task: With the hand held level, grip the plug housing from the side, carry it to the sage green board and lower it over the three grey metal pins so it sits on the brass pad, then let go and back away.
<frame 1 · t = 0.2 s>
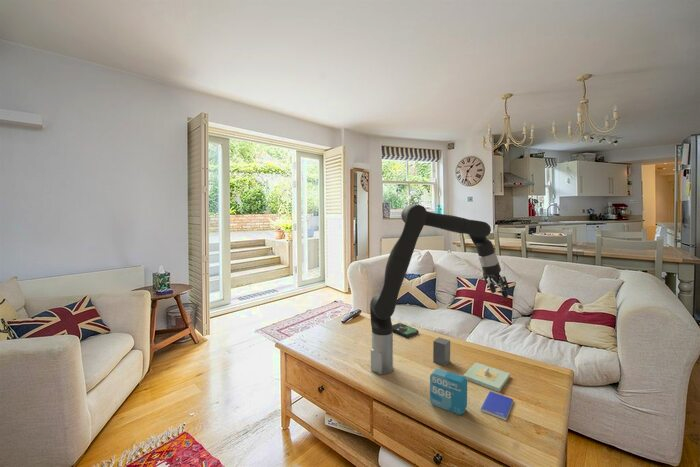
hand: (499, 294, 139), 31 cm above the table, tool tilted 20°, fingers open, 8 cm apart
disk drive: (403, 333, 173), on the table
pin board: (486, 377, 125), on the table
plug housing: (441, 361, 139), on the table
hard drive: (497, 407, 108), on the table
data package: (448, 407, 108), on the table
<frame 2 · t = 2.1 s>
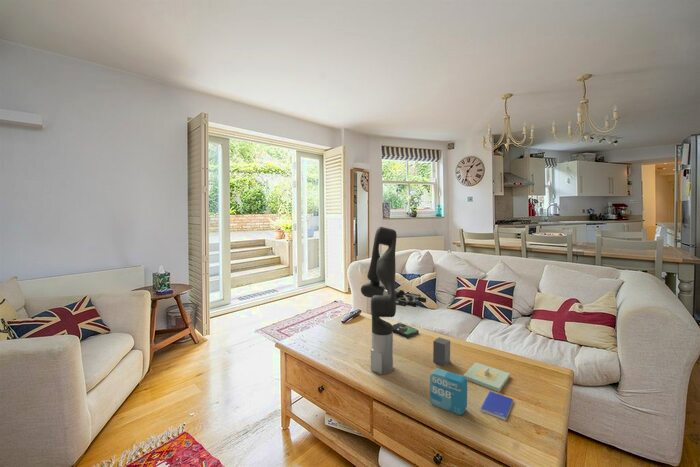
hand: (421, 302, 144), 26 cm above the table, tool horizontal, fingers open, 8 cm apart
nothing on the table moved.
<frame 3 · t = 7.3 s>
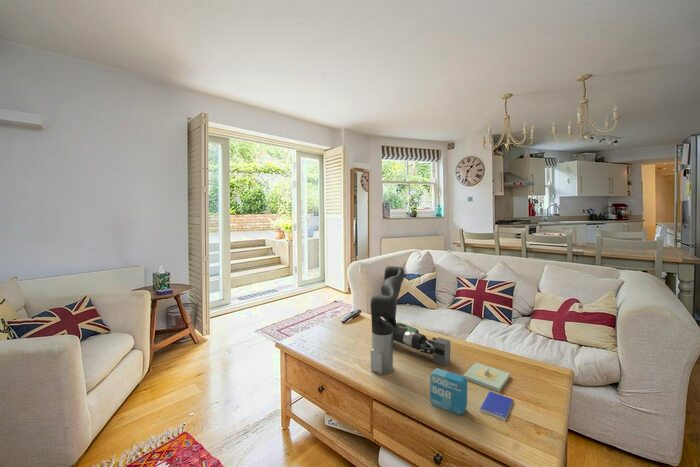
hand: (447, 350, 137), 6 cm above the table, tool horizontal, fingers closed on plug housing, 5 cm apart
plug housing: (441, 361, 139), on the table, touching gripper
everything else where it was.
when the fingers open (8 cm above the table, at t = 13.1 s): plug housing stays where it is, resting on pin board.
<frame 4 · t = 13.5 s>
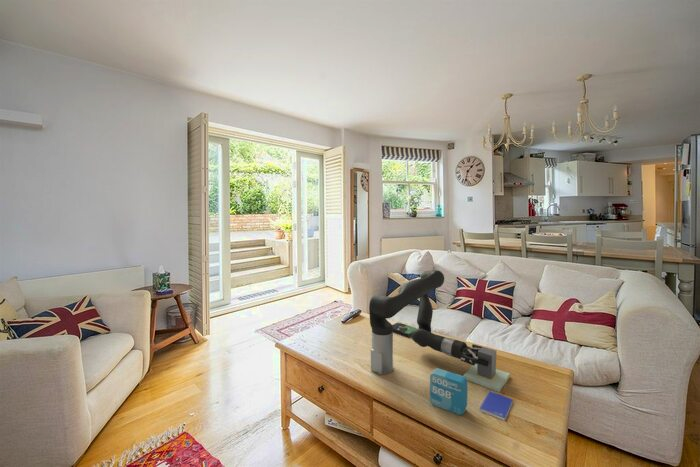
hand: (491, 359, 123), 8 cm above the table, tool horizontal, fingers open, 8 cm apart
plug housing: (486, 374, 125), point 2 cm above the table, touching pin board
everything else where it was.
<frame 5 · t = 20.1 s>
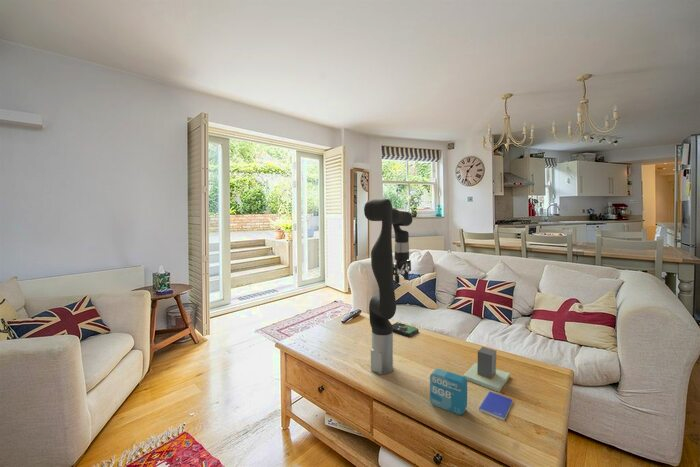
hand: (401, 281, 157), 33 cm above the table, tool pointing down, fingers open, 8 cm apart
at the end: plug housing 0.0 cm off-centre on the pin board, point 1.6 cm above the pin board's base; plug housing tilted 0°; the gripper is holding nothing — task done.
